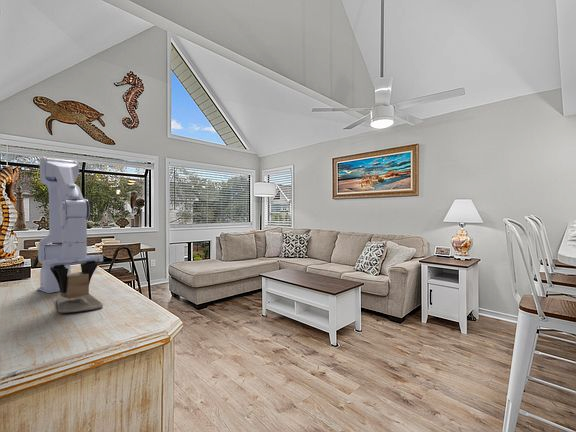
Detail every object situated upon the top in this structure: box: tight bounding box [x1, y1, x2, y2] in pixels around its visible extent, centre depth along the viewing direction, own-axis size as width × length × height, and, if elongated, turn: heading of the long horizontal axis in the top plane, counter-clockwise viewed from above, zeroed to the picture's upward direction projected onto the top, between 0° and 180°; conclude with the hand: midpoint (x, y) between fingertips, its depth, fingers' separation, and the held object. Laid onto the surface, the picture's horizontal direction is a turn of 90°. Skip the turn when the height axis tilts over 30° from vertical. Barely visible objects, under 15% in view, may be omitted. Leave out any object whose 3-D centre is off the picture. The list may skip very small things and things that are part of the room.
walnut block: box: [60, 271, 90, 299], centre depth 86 cm, size 5×5×6 cm
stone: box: [56, 293, 104, 314], centre depth 86 cm, size 18×3×10 cm
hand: (74, 289), depth 86 cm, fingers closed on walnut block, 5 cm apart
